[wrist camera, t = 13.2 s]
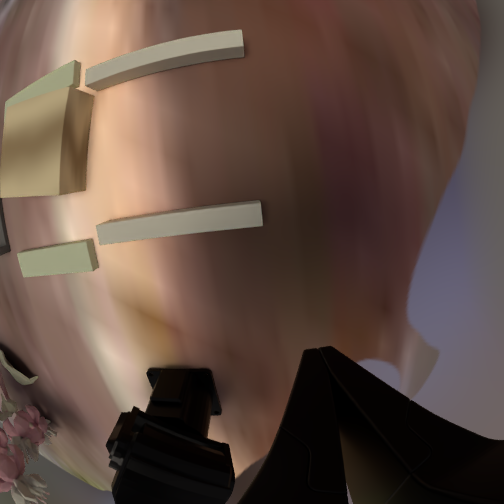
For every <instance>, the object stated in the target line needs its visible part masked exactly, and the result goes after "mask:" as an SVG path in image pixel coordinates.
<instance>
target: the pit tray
mask: <svg viewBox="0 0 504 504" xmlns="http://www.w3.org/2000/svg"><path fill="white" fill-rule="evenodd" d="M9 251H10V246H9V242H8V237H7V232H6V227H5V221H4V215H3V208H2V200H1V198H0V255H3V254H5V253H7V252H9Z"/></svg>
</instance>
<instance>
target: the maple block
mask: <svg viewBox="0 0 504 504" xmlns="http://www.w3.org/2000/svg"><path fill="white" fill-rule="evenodd" d="M93 101H94V96H93V95H90V94H88V93H85V92H83V91H80V90H78V89H75V88H73V87H70V86H69V87H65V88H62V89H58V90H55V91H51V92H48V93H45V94H42V95H39V96H36V97H33V98H30V99H27V100H25V101H22V102H19V103H17V104H14V105H12V106H9V107H7V111H6V117H5V124H4V131H3V140H2V151H1V169H0V198H7V197H25V196H52V195H63V194H69V193H74V192H80V191H85V190H86V169H87V152H88V140H89V130H90V122H91V114H92V107H93Z"/></svg>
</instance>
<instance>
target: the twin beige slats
mask: <svg viewBox="0 0 504 504" xmlns="http://www.w3.org/2000/svg"><path fill="white" fill-rule="evenodd" d="M241 57H244V46H243V38H242V30H233V31H224V32H217V33H210V34H204V35H198V36H193V37H188V38H183V39H178V40H174V41H170V42H165V43H162V44H158V45H154V46H150V47H147V48H143V49H140V50H137V51H134V52H131V53H128V54H125V55H122V56H119V57H116V58H113V59H111V60H108V61H105V62H103V63H100V64H98V65H96V66H93V67H91V68H88V69H86V74H85V86H87V87H89V88H91V89H93V90H96V91H99V90H102V89H105V88H108V87H110V86H113V85H116V84H119V83H122V82H125V81H128V80H131V79H135V78H138V77H142V76H145V75H149V74H152V73H156V72H160V71H164V70H169V69H173V68H177V67H182V66H187V65H192V64H198V63H204V62H210V61H216V60H224V59H232V58H241ZM258 226H263V221H262V211H261V202H260V200H255V201H245V202H235V203H226V204H218V205H209V206H201V207H194V208H186V209H179V210H172V211H165V212H158V213H151V214H145V215H138V216H132V217H126V218H120V219H115V220H109V221H106V222H103V223H101V224H98V225H96V229H97V234H98V239H99V244H100V245H105V244H113V243H120V242H127V241H135V240H143V239H151V238H159V237H167V236H175V235H184V234H192V233H201V232H210V231H219V230H229V229H238V228H248V227H258Z"/></svg>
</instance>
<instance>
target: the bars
mask: <svg viewBox="0 0 504 504" xmlns="http://www.w3.org/2000/svg"><path fill="white" fill-rule="evenodd" d="M79 77H80V62H78V61H76V60H74V61H72V62H70V63H68V64H66V65H64V66H62V67H60V68H58V69H56V70H54V71H53V72H51V73H49V74H47V75H46V76H44V77H42V78H40V79H39V80H37V81H36V82H34V83H32V84H31V85H29V86H28V87H26V88H25V89H23V90H22V91H20V92H19V93H17V94H16V95H14V96H13V97H11V98H10V99H9V100H7V101H6V103H5V116H4V123H5V117H6V111H7V107H9V106H12V105H14V104H17V103H19V102H22V101H25V100H27V99H30V98H33V97H36V96H39V95H42V94H45V93H48V92H51V91H55V90H58V89H62V88H65V87H69V86H70V87H73V88H77V87H79ZM17 255H18V259H19V263H20V267H21V271H22V274H23V277H33V276H44V275H56V274H67V273H78V272H89V271H94V270H95V269H97V268H98V262H97V258H96V254H95V250H94V245H93V240H92V239H87V240H81V241H75V242H69V243H63V244H57V245H52V246H46V247H41V248H35V249H30V250H24V251H21V252H19V253H17Z"/></svg>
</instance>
